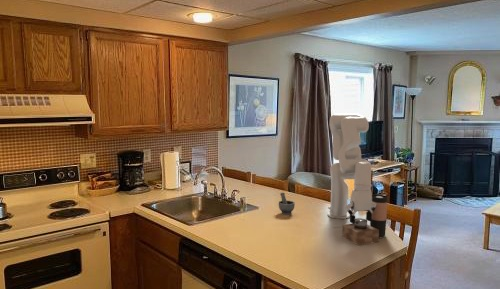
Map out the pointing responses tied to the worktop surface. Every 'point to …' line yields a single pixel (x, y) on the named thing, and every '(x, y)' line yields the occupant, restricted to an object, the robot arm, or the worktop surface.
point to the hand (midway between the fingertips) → (360, 221)
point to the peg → (360, 223)
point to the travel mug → (379, 214)
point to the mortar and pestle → (286, 205)
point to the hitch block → (360, 234)
